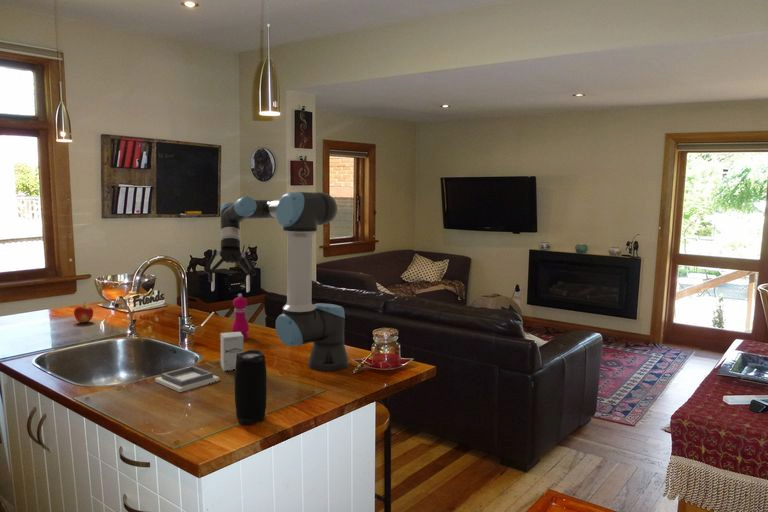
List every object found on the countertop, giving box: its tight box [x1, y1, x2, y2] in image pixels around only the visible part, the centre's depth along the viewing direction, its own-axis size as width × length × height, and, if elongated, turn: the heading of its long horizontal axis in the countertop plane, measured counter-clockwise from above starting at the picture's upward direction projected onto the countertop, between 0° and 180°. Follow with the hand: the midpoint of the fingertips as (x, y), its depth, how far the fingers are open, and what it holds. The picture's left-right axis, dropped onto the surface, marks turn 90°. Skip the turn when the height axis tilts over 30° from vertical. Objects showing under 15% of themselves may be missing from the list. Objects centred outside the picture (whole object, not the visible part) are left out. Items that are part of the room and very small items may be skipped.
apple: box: [73, 302, 94, 324], centre depth 270 cm, size 8×8×10 cm
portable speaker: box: [234, 349, 268, 426], centre depth 161 cm, size 9×9×20 cm
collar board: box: [154, 365, 220, 393], centre depth 192 cm, size 15×15×3 cm
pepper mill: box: [231, 293, 250, 340], centre depth 247 cm, size 7×7×20 cm
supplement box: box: [219, 331, 244, 372], centre depth 207 cm, size 7×7×13 cm
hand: (230, 290), depth 221 cm, fingers open, 13 cm apart
